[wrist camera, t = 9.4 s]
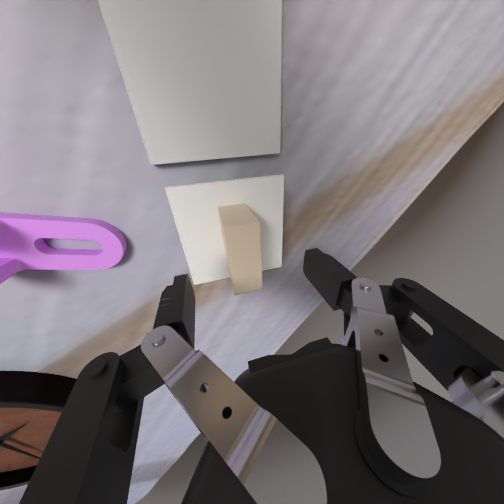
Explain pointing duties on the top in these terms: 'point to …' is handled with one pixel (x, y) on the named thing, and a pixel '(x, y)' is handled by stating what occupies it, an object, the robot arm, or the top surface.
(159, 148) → the mat
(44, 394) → the wall clock
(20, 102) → the top surface
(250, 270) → the cover
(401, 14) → the top surface
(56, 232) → the bracket
